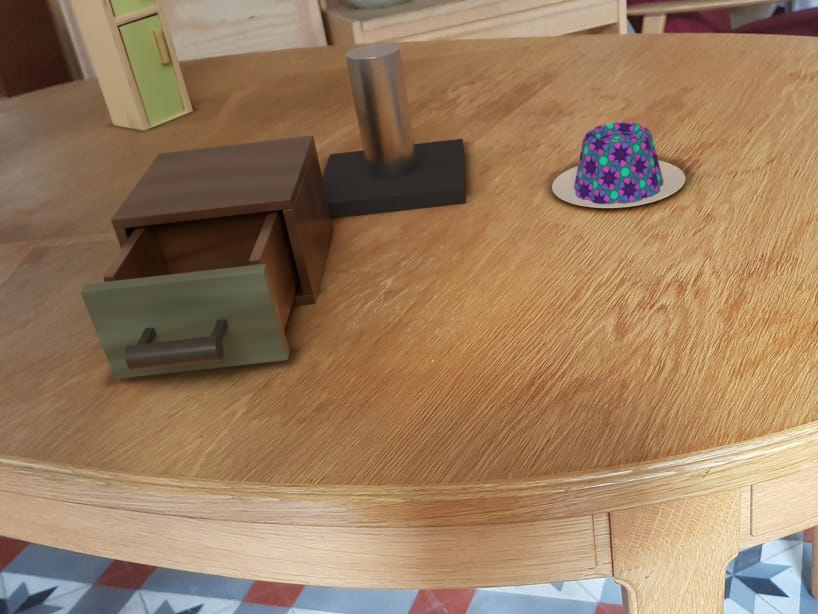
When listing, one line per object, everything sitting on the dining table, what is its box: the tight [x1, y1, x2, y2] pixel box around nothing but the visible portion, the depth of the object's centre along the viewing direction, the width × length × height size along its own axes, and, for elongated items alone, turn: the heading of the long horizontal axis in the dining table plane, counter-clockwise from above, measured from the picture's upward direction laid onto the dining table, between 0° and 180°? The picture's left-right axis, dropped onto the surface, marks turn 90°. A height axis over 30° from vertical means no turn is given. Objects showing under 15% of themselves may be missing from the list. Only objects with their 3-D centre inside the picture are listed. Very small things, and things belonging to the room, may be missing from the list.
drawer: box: [80, 210, 299, 380], centre depth 68 cm, size 18×12×7 cm
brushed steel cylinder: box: [345, 42, 418, 179], centre depth 90 cm, size 5×5×11 cm
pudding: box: [551, 122, 686, 209], centre depth 85 cm, size 12×12×5 cm
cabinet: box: [110, 134, 334, 307], centre depth 78 cm, size 15×14×9 cm
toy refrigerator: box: [69, 0, 194, 131], centre depth 114 cm, size 8×7×21 cm
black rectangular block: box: [322, 138, 467, 219], centre depth 93 cm, size 14×14×2 cm
